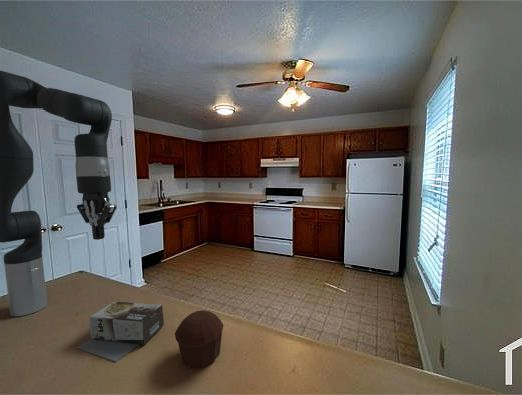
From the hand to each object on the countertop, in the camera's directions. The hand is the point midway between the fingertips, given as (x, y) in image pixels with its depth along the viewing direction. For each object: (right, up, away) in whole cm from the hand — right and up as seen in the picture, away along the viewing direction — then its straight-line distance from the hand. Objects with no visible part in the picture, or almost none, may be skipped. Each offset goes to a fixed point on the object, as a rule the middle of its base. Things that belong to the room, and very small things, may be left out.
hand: (99, 238), depth 68 cm
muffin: (+29, -27, -7) cm, 41 cm away
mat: (+6, -27, 0) cm, 28 cm away
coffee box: (-1, -23, +3) cm, 23 cm away
